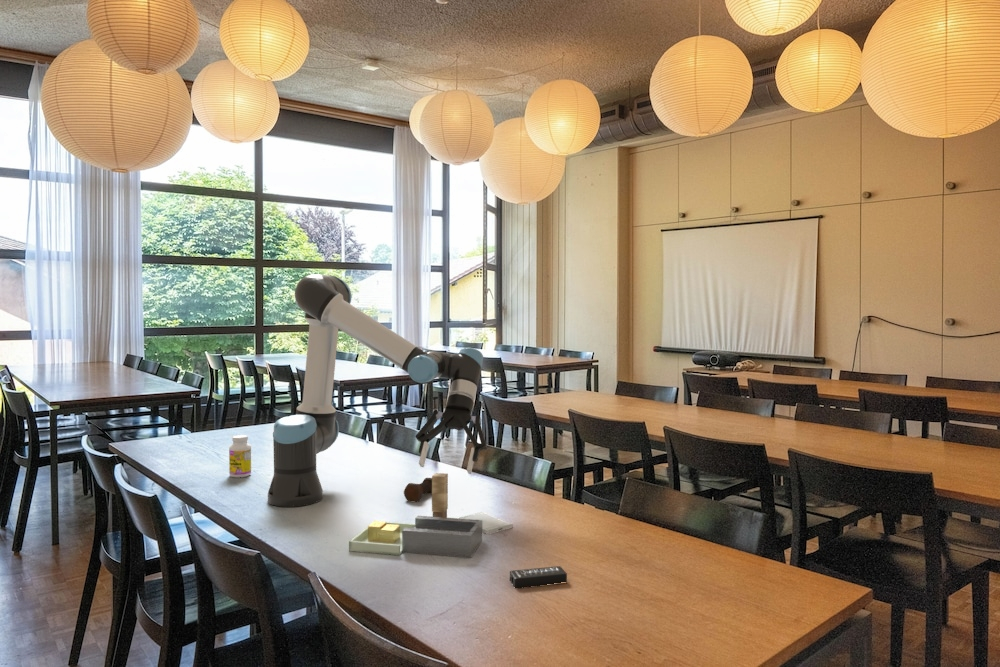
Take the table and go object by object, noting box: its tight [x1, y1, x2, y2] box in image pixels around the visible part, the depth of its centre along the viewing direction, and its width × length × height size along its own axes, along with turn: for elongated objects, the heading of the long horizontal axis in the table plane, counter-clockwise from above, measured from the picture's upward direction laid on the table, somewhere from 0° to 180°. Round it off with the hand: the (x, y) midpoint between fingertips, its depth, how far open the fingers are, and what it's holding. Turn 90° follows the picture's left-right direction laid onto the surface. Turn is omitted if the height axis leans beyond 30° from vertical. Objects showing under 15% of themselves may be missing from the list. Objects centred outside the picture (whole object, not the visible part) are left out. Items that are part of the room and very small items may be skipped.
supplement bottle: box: [228, 434, 252, 479], centre depth 221 cm, size 7×7×13 cm
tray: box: [348, 521, 415, 556], centre depth 160 cm, size 12×15×2 cm
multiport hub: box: [509, 565, 568, 589], centre depth 138 cm, size 4×11×2 cm, turn 104°
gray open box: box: [402, 515, 483, 559], centre depth 157 cm, size 16×11×5 cm
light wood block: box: [367, 520, 387, 542], centre depth 161 cm, size 4×4×3 cm
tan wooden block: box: [380, 524, 400, 543], centre depth 160 cm, size 4×4×3 cm
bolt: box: [403, 477, 432, 503], centre depth 200 cm, size 6×5×15 cm
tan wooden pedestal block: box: [431, 472, 449, 518], centre depth 172 cm, size 3×4×13 cm
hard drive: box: [457, 511, 514, 535], centre depth 173 cm, size 2×8×12 cm
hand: (444, 468), depth 185 cm, fingers open, 13 cm apart
